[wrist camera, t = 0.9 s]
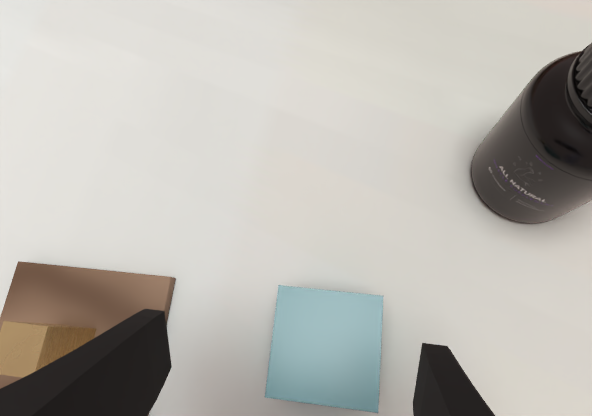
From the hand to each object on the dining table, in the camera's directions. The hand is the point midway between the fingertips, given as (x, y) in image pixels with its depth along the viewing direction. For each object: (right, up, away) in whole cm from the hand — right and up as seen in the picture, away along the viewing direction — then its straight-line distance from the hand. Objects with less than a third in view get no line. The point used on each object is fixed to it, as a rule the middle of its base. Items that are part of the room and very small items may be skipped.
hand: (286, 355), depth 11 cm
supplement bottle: (+15, +6, +16) cm, 23 cm away
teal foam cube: (+2, -4, +14) cm, 15 cm away
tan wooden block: (-14, -5, +14) cm, 21 cm away
